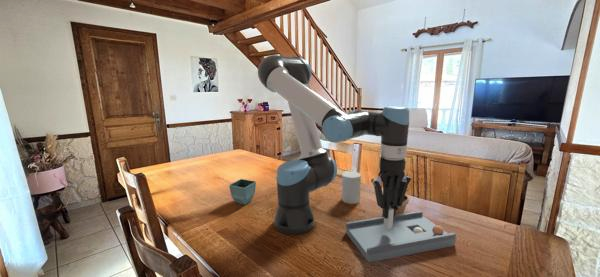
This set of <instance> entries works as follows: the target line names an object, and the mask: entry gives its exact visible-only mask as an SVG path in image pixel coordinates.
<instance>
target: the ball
mask: <svg viewBox="0 0 600 277" xmlns="http://www.w3.org/2000/svg"><path fill="white" fill-rule="evenodd" d="M413 232H414V233H421V232H423V230H422V229H421V228H420V227H416V228H414V229H413Z"/></svg>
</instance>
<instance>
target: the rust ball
mask: <svg viewBox="0 0 600 277" xmlns="http://www.w3.org/2000/svg"><path fill="white" fill-rule="evenodd" d="M435 225H436V224H435ZM432 231H433V233H434V234H435V235H436V236H437V235H442V234H443V233H444V231H445V230H444V228H443V227H442V226H441V225H436V226H434V227H433V229H432Z"/></svg>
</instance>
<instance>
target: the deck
mask: <svg viewBox="0 0 600 277" xmlns="http://www.w3.org/2000/svg"><path fill="white" fill-rule="evenodd" d="M423 214H424V213H423V211H422V210H418V211H411V212H404V213H403V214H397V215H395V217H393V227H392V228H389V229H388V228H387V227H386V226H385V225H384V217H383V216H378V217H373V218H366V219H359V220H354V221H353V220H351V221H347V222H345V234H346V235H347V237H348V238H349V239H350V240H351V241H352V243H353V244H354V246H355V247H356V249H357V250H358V251H359V253H360V254H361V256H362V257H363V258H364V259H365V261H366V262H367V263H374V262H379V261H383V260H384V261H385V260H388V259H393V258H398V257H404V256H409V255H414V254H415V255H416V254H419V253H425V252H429V251H434V250H438V249H444V248H449V247H455V246H456V237H457V234H456V233H455V232H448V231H446V230H444V233H443V234H442V235H437V236H436V235H435V234H434V233H433V231H432V229H433V227H434V226H436V224H435V223H434V222H432V221H431V220H429V219H428V218H427V217H425V216H423ZM416 227H420V228H421V229H422V230H423V232H421V233H414V232H413V229H414V228H416Z"/></svg>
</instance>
